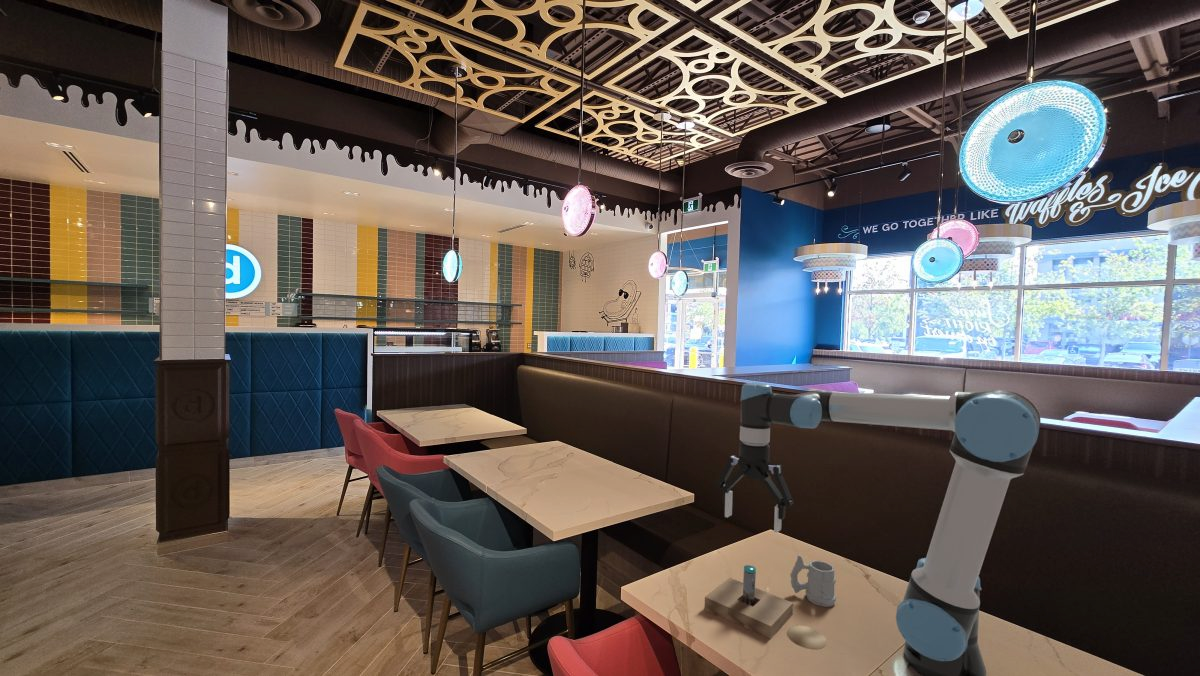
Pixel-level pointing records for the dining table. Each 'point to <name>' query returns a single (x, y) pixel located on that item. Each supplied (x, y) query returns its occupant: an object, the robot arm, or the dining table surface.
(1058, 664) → the dining table surface
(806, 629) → the coaster
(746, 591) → the peg
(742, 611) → the hole board
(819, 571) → the mug
